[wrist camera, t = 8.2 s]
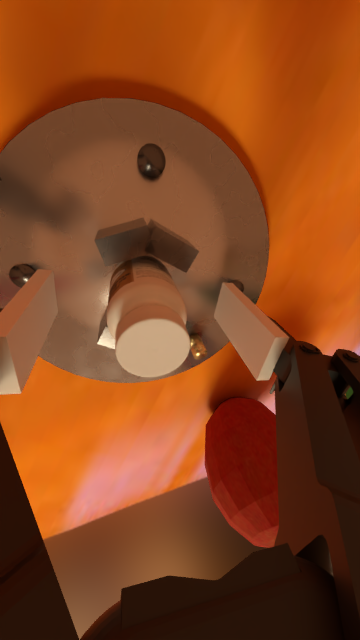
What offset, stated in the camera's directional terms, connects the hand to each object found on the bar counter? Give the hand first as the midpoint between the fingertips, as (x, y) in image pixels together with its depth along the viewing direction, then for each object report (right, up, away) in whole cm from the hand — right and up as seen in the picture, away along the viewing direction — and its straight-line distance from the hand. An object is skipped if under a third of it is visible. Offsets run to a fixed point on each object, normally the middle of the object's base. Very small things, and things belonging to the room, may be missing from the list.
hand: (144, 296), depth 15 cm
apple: (+8, -12, +14) cm, 20 cm away
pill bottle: (-1, +1, +2) cm, 2 cm away
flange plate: (-1, +1, +2) cm, 3 cm away
